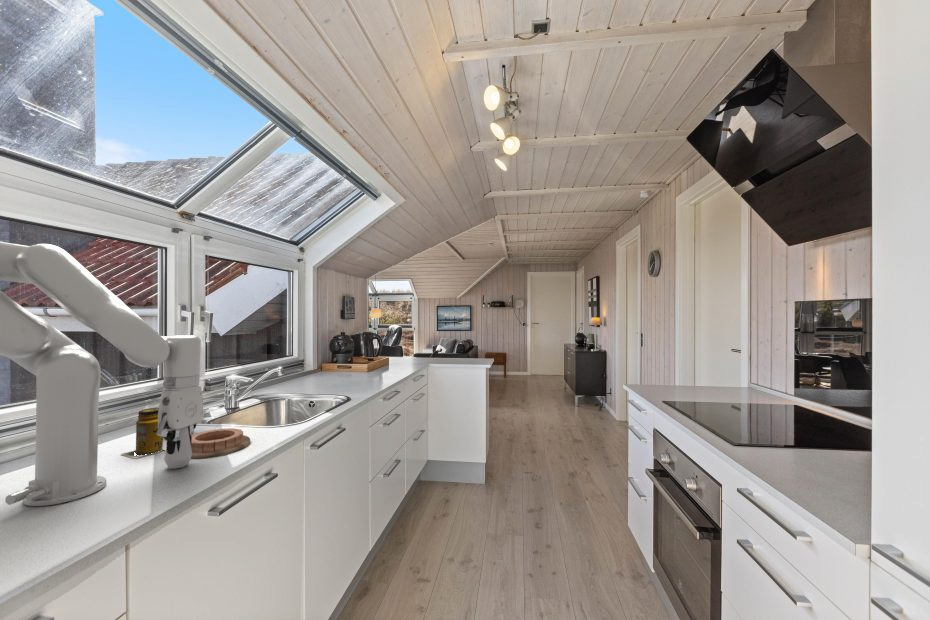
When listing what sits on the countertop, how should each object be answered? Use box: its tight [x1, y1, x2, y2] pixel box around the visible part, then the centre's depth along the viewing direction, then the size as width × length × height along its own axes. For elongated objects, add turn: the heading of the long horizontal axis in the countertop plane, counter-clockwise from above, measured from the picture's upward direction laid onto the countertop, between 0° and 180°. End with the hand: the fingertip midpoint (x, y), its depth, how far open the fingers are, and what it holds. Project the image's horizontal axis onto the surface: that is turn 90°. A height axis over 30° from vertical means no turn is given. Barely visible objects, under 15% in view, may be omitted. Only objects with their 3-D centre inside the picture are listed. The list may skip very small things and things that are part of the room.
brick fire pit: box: [190, 427, 251, 460], centre depth 113 cm, size 18×18×4 cm
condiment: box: [120, 407, 167, 460], centre depth 109 cm, size 7×8×12 cm
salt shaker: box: [163, 427, 192, 470], centre depth 98 cm, size 6×6×13 cm
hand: (178, 453), depth 99 cm, fingers closed on salt shaker, 3 cm apart
